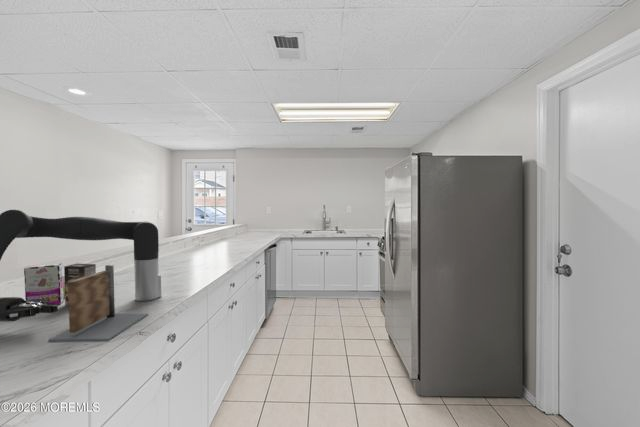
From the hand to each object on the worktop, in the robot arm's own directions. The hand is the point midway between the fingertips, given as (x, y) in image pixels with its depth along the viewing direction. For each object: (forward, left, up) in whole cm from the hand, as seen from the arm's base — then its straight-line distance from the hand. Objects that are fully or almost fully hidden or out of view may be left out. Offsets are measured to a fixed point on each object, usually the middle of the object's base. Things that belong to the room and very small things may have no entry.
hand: (56, 308), depth 103 cm
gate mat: (-10, +10, -7) cm, 15 cm away
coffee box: (-16, -27, -7) cm, 32 cm away
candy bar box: (-7, -37, -7) cm, 39 cm away
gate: (-7, +8, -5) cm, 12 cm away
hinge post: (-15, +3, -7) cm, 17 cm away
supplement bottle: (-17, -45, -7) cm, 49 cm away
